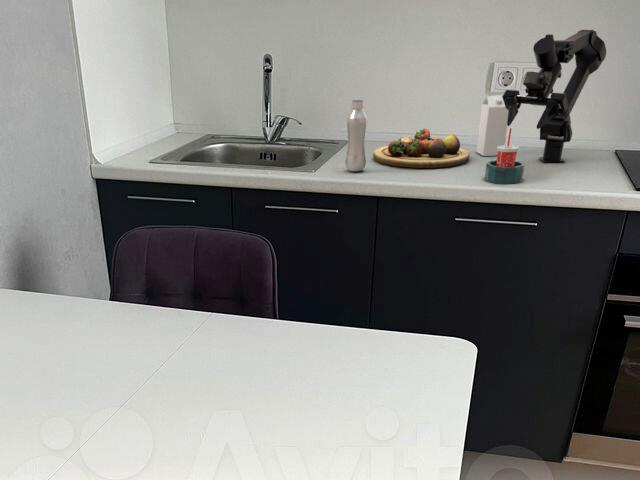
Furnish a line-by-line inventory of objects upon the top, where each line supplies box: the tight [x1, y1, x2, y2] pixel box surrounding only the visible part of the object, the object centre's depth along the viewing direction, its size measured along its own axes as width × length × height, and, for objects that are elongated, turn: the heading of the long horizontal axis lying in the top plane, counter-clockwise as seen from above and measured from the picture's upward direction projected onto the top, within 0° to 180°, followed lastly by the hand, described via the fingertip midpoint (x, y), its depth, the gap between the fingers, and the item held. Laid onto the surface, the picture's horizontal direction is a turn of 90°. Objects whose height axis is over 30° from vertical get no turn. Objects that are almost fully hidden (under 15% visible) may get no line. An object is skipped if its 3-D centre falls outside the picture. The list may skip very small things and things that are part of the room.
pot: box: [484, 159, 526, 185], centre depth 216 cm, size 11×14×4 cm
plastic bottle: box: [345, 99, 368, 173], centre depth 226 cm, size 6×7×20 cm
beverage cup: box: [496, 127, 520, 167], centre depth 214 cm, size 6×6×14 cm
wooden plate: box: [372, 128, 471, 169], centre depth 242 cm, size 32×32×8 cm
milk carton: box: [476, 90, 509, 157], centre depth 244 cm, size 7×7×19 cm
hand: (522, 126), depth 214 cm, fingers open, 9 cm apart
